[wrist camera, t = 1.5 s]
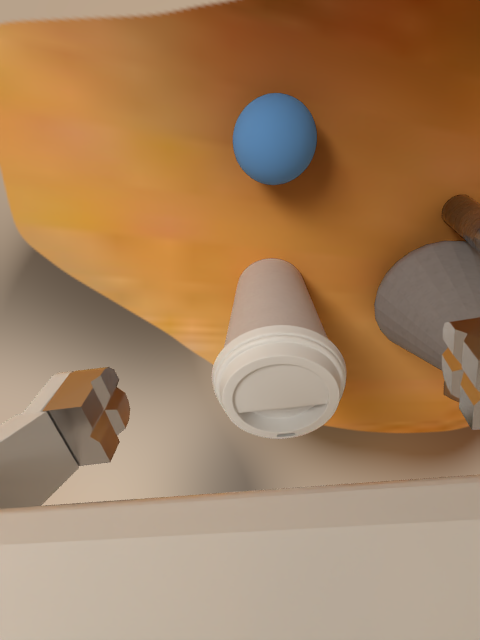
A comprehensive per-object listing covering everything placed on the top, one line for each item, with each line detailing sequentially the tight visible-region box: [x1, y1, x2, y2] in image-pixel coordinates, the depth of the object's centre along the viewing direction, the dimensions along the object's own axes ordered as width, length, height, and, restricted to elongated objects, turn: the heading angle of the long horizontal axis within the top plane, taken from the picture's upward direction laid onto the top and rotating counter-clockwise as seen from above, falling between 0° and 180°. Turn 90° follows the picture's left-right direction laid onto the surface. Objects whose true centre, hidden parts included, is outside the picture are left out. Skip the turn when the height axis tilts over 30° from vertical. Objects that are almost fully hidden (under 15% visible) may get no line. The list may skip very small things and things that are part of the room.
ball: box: [233, 93, 317, 185], centre depth 29 cm, size 6×6×6 cm
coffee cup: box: [212, 259, 346, 439], centre depth 33 cm, size 10×10×15 cm
